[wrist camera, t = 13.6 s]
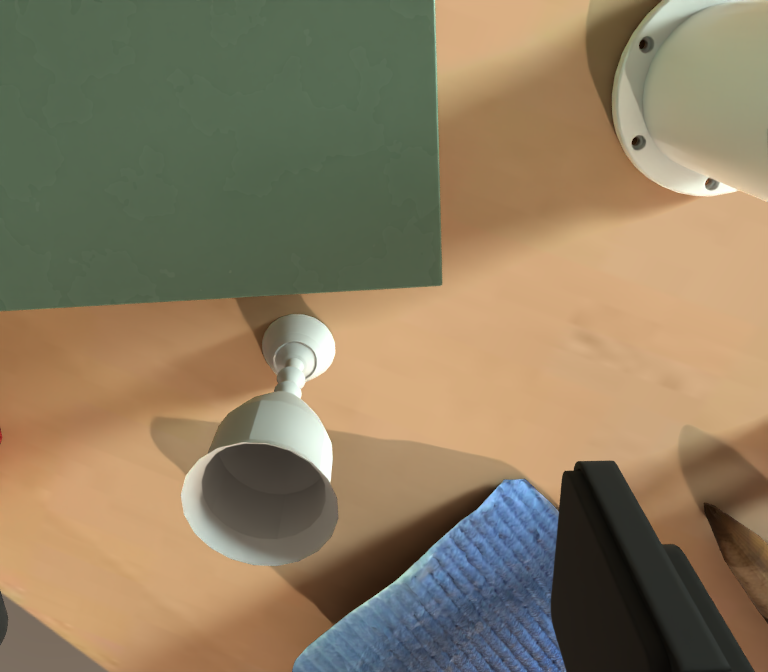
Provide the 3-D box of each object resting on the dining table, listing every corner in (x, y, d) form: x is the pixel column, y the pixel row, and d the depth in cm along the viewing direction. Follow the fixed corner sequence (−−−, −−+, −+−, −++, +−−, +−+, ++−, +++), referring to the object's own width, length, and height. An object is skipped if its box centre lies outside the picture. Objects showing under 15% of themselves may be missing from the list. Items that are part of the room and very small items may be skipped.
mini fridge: (-57, -135, 38) (-668, -377, 16) (394, -164, 38) (423, -452, 15) (24, 183, 45) (-326, 330, 22) (408, 160, 44) (442, 286, 22)
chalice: (230, 364, 50) (158, 530, 33) (270, 283, 47) (215, 417, 31) (324, 407, 51) (300, 586, 35) (368, 330, 49) (365, 482, 32)
